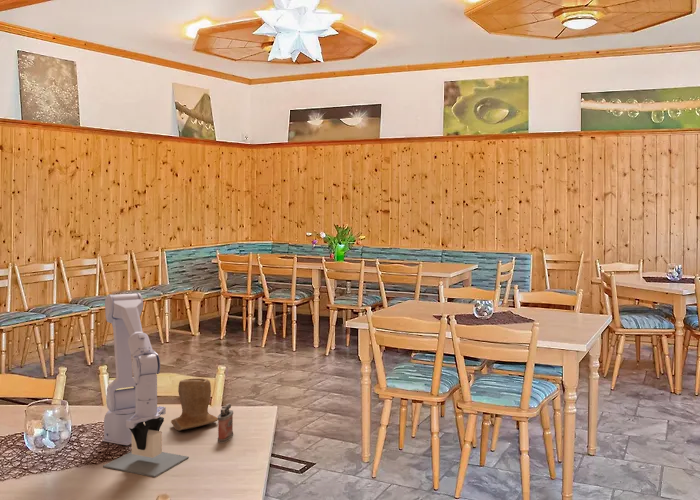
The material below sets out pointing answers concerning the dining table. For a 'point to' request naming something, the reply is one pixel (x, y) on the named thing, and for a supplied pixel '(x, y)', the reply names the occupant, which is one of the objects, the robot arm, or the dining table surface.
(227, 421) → the red patterned tin
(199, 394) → the brown bookend
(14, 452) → the dining table surface
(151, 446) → the cream block
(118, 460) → the slate mat
